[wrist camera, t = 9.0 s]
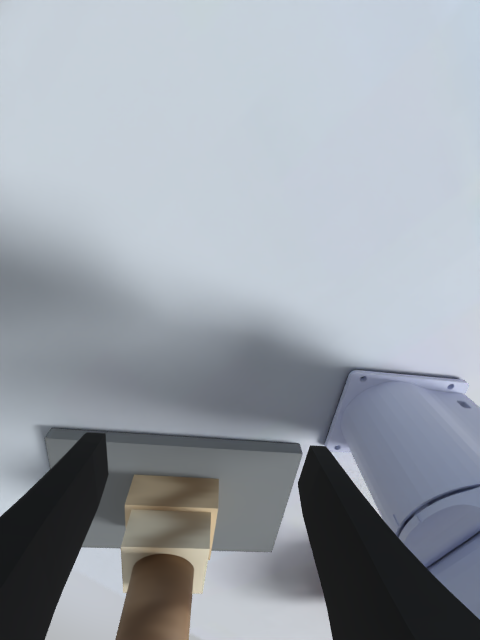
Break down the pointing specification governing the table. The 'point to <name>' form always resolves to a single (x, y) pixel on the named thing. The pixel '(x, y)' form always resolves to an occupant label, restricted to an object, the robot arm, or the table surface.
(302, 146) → the table surface
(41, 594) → the robot arm
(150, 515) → the birch top block
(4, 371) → the table surface
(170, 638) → the walnut cylinder
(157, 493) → the oak bottom block
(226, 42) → the table surface
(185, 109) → the table surface
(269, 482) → the grey base plate
